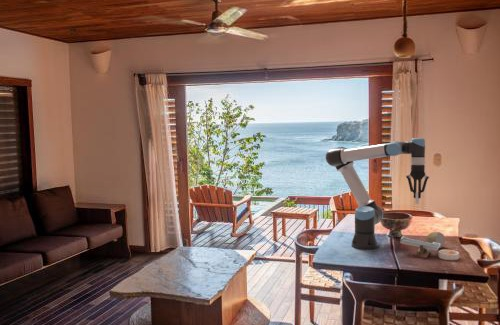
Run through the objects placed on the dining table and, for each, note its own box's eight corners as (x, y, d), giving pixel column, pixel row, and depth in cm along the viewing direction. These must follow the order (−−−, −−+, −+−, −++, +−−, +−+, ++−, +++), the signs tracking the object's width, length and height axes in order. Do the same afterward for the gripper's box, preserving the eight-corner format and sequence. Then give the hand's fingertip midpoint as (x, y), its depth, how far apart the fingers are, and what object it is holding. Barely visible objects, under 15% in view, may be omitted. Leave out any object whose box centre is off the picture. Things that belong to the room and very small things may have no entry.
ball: (447, 250, 253) (453, 252, 251) (447, 249, 256) (454, 250, 254) (445, 256, 254) (452, 258, 252) (446, 254, 257) (453, 256, 255)
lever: (399, 243, 263) (400, 238, 262) (405, 237, 276) (405, 232, 276) (436, 251, 253) (437, 246, 253) (440, 245, 266) (441, 240, 266)
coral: (439, 239, 267) (426, 229, 275) (434, 252, 272) (422, 242, 280) (450, 235, 271) (438, 226, 279) (445, 249, 276) (433, 239, 284)
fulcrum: (415, 256, 258) (415, 245, 257) (419, 250, 268) (419, 240, 267) (426, 257, 255) (427, 246, 254) (430, 252, 265) (430, 241, 264)
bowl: (437, 258, 253) (437, 253, 253) (439, 253, 262) (440, 248, 261) (457, 261, 248) (457, 255, 247) (459, 256, 257) (459, 250, 256)
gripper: (405, 164, 272) (404, 203, 274) (428, 165, 265) (427, 205, 268) (407, 163, 278) (406, 201, 280) (430, 164, 272) (429, 203, 274)
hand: (417, 203), depth 274 cm, fingers closed
